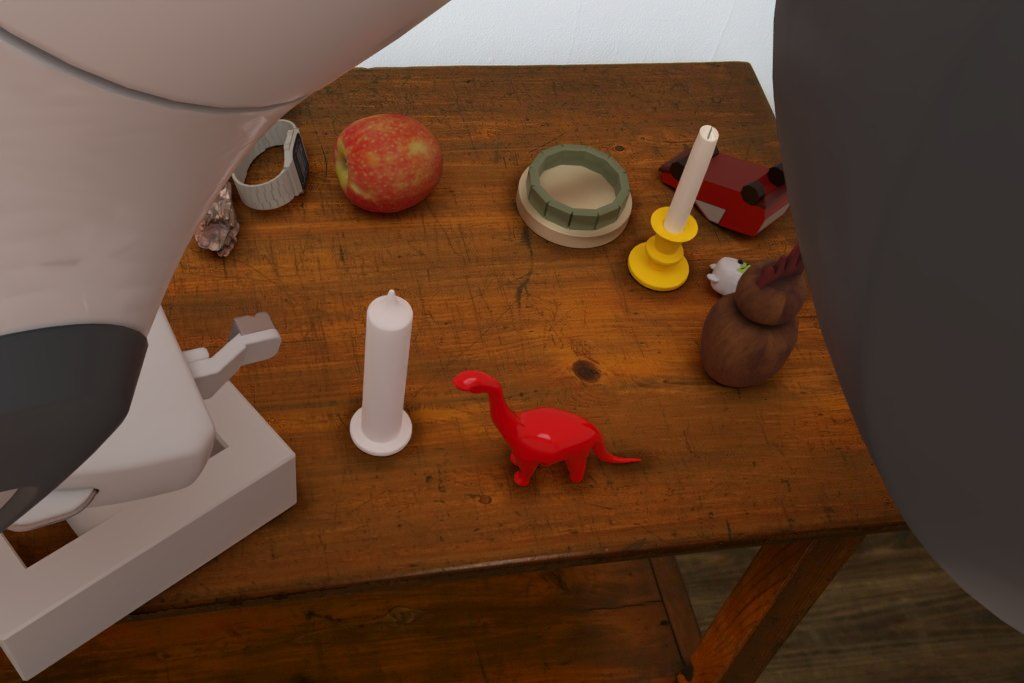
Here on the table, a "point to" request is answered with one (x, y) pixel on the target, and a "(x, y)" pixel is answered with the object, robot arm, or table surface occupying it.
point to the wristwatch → (288, 179)
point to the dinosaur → (539, 432)
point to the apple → (387, 162)
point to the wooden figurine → (755, 323)
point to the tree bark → (219, 224)
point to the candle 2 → (674, 224)
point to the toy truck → (735, 191)
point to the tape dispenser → (145, 541)
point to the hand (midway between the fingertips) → (234, 252)
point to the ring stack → (575, 196)
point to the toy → (726, 274)
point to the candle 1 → (384, 378)
